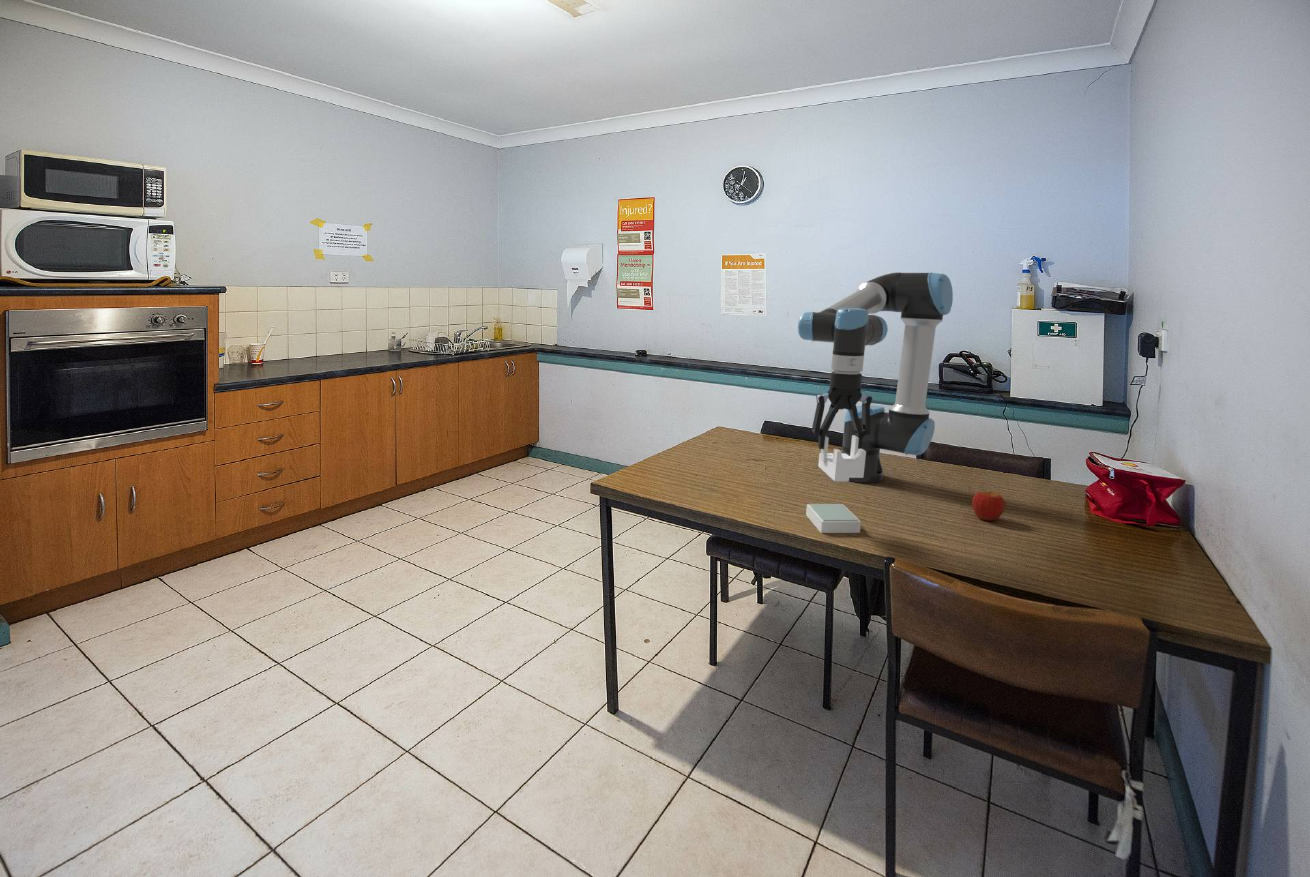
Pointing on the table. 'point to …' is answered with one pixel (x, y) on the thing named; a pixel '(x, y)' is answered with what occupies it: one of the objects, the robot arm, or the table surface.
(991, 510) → the apple
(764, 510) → the table surface
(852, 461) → the bracket
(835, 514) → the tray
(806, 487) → the table surface
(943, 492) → the table surface
